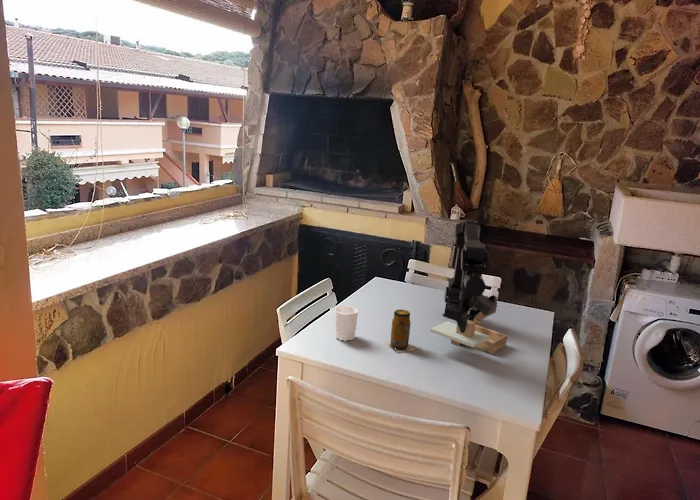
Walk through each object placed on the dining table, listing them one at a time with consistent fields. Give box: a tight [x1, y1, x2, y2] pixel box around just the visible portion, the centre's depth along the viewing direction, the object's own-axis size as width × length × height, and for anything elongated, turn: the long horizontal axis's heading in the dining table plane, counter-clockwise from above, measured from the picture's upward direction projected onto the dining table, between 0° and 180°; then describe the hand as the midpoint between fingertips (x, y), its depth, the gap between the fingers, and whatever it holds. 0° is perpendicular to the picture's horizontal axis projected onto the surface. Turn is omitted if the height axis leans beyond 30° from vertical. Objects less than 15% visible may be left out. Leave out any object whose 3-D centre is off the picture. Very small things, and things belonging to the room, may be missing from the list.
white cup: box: [334, 305, 359, 341], centre depth 176 cm, size 8×8×10 cm
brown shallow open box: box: [450, 319, 508, 356], centre depth 178 cm, size 16×15×5 cm
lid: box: [430, 320, 489, 348], centre depth 167 cm, size 16×10×6 cm, turn 47°
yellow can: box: [384, 308, 417, 353], centre depth 171 cm, size 7×8×12 cm
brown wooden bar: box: [475, 307, 497, 321], centre depth 189 cm, size 2×12×2 cm, turn 137°
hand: (465, 331), depth 166 cm, fingers closed on lid, 3 cm apart
